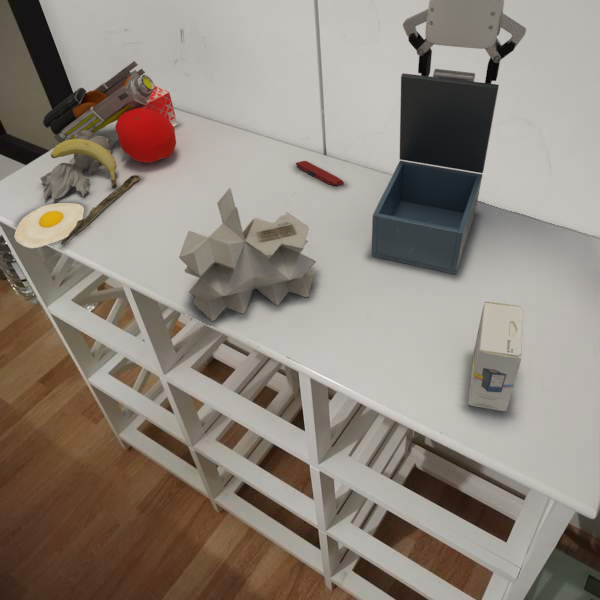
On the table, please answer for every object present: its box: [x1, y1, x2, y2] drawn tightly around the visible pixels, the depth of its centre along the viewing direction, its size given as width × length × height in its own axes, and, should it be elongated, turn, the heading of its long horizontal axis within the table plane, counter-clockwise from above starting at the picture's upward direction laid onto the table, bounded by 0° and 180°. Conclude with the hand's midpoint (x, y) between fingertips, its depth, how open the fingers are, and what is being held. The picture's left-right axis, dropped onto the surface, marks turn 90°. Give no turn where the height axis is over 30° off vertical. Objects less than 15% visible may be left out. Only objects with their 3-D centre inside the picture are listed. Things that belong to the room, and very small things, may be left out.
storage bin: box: [371, 160, 483, 275], centre depth 96 cm, size 16×14×9 cm
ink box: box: [467, 301, 524, 412], centre depth 74 cm, size 9×5×12 cm, turn 164°
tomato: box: [114, 108, 177, 164], centre depth 118 cm, size 11×13×10 cm
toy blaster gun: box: [42, 60, 156, 143], centre depth 121 cm, size 9×26×10 cm
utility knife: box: [295, 160, 345, 186], centre depth 112 cm, size 12×1×2 cm
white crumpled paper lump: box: [178, 187, 317, 322], centre depth 91 cm, size 23×19×15 cm
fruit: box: [50, 139, 117, 188], centre depth 114 cm, size 7×13×3 cm
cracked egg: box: [13, 202, 85, 249], centre depth 108 cm, size 13×12×1 cm
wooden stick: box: [60, 174, 141, 246], centre depth 109 cm, size 2×23×2 cm, turn 153°
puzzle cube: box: [141, 84, 179, 128], centre depth 127 cm, size 8×8×8 cm
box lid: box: [399, 68, 500, 174], centre depth 91 cm, size 16×14×5 cm
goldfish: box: [39, 130, 113, 201], centre depth 118 cm, size 20×10×9 cm
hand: (456, 81), depth 88 cm, fingers open, 9 cm apart
